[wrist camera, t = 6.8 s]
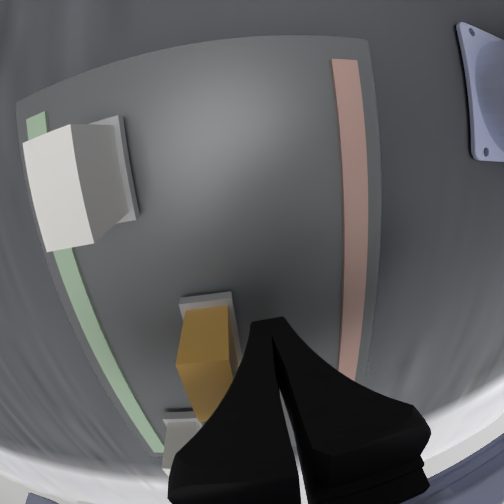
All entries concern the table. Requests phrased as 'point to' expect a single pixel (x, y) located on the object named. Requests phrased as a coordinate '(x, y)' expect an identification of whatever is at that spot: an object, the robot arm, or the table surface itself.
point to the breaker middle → (208, 350)
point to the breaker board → (224, 206)
